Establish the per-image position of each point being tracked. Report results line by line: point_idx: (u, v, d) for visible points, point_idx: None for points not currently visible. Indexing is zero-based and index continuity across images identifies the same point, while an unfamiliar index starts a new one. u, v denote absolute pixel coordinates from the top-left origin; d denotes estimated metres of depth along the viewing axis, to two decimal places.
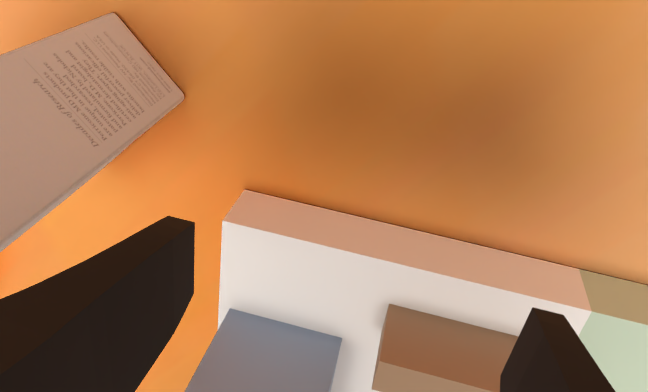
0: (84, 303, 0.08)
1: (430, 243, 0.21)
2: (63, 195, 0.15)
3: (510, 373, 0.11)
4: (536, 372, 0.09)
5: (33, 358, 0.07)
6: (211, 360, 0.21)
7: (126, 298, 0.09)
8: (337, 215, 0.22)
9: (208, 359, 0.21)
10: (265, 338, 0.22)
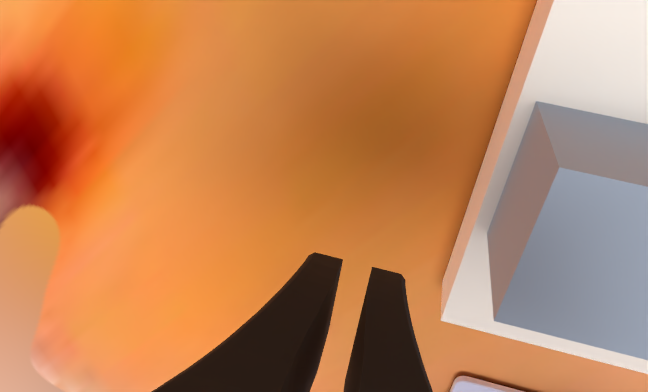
0: (288, 359, 0.08)
1: None
2: None
3: (356, 332, 0.11)
4: (360, 326, 0.10)
5: None
6: (563, 142, 0.14)
7: (306, 347, 0.09)
8: None
9: (558, 140, 0.14)
10: (611, 129, 0.15)
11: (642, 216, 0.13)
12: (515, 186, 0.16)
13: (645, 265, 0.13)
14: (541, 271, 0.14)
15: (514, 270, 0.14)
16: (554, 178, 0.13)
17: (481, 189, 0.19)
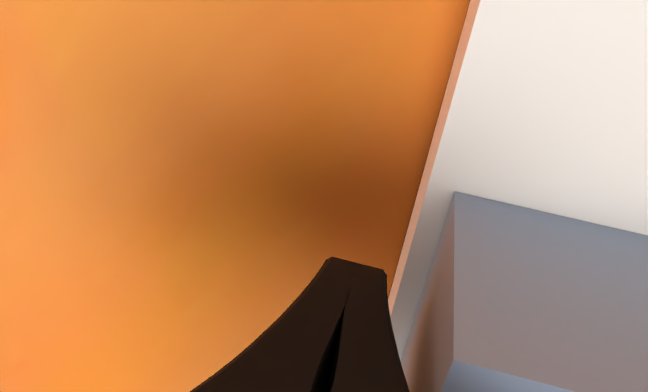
0: (312, 366, 0.08)
1: None
2: None
3: None
4: None
5: None
6: (476, 286, 0.08)
7: (328, 353, 0.09)
8: None
9: (468, 284, 0.08)
10: (563, 246, 0.10)
11: None
12: (424, 319, 0.11)
13: None
14: None
15: None
16: (447, 374, 0.07)
17: (393, 295, 0.14)
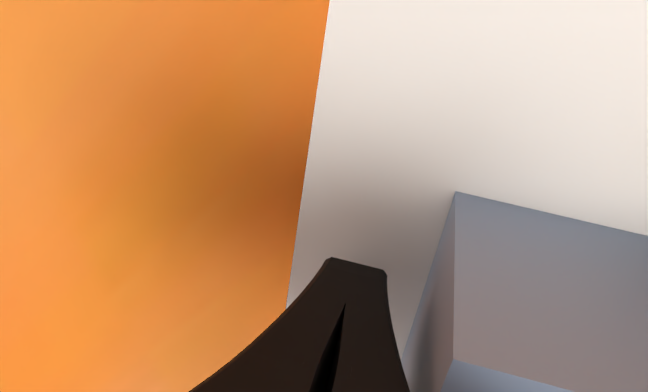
0: (311, 366, 0.08)
1: None
2: None
3: None
4: None
5: None
6: (477, 286, 0.08)
7: (327, 353, 0.09)
8: None
9: (468, 283, 0.08)
10: (563, 246, 0.10)
11: None
12: (424, 318, 0.11)
13: None
14: None
15: None
16: (447, 373, 0.07)
17: None
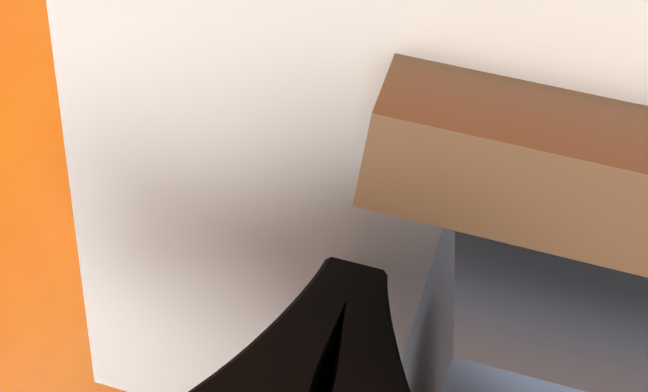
0: (311, 366, 0.08)
1: None
2: None
3: None
4: (341, 321, 0.10)
5: None
6: (477, 284, 0.08)
7: (327, 353, 0.09)
8: None
9: (469, 281, 0.08)
10: None
11: None
12: (425, 318, 0.11)
13: None
14: None
15: None
16: (447, 371, 0.07)
17: None
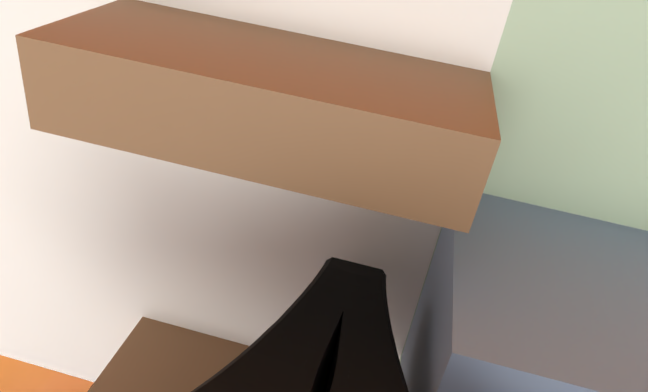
0: (313, 366, 0.08)
1: None
2: None
3: None
4: None
5: None
6: (476, 280, 0.08)
7: (328, 353, 0.09)
8: None
9: (468, 278, 0.08)
10: (563, 241, 0.10)
11: None
12: (424, 315, 0.11)
13: None
14: None
15: None
16: (445, 368, 0.07)
17: None
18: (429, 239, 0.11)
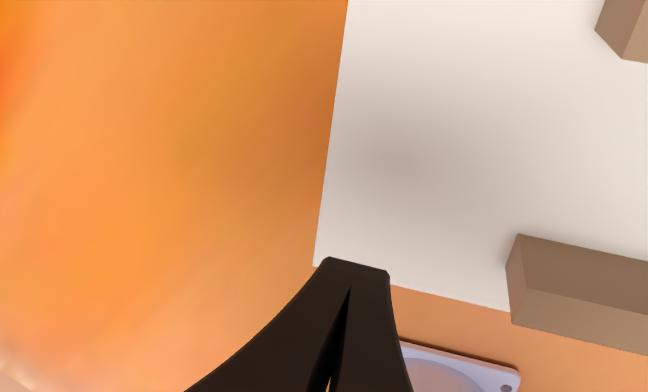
0: (308, 365, 0.08)
1: None
2: None
3: None
4: (344, 321, 0.10)
5: None
6: None
7: (324, 352, 0.09)
8: None
9: None
10: None
11: None
12: None
13: None
14: None
15: None
16: None
17: None
18: None
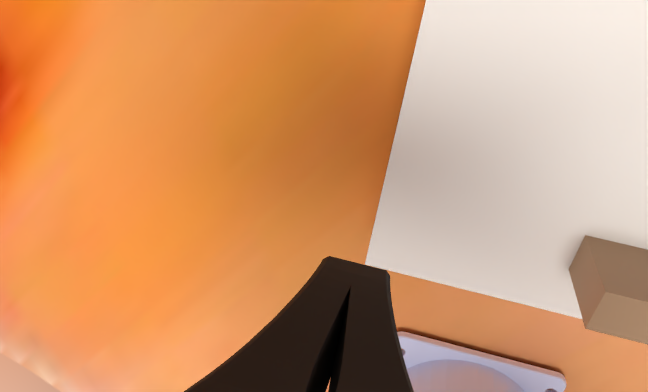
0: (308, 365, 0.08)
1: None
2: None
3: None
4: (344, 321, 0.10)
5: None
6: None
7: (324, 352, 0.09)
8: None
9: None
10: None
11: None
12: None
13: None
14: None
15: None
16: None
17: None
18: None
